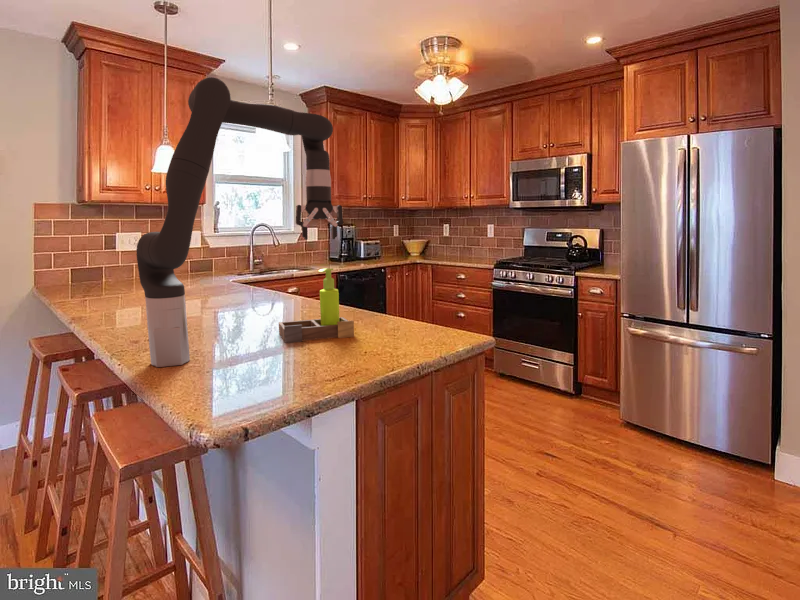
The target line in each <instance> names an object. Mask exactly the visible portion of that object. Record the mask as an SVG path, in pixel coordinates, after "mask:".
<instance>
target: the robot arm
mask: <svg viewBox="0 0 800 600" xmlns="http://www.w3.org/2000/svg"><path fill="white" fill-rule="evenodd" d="M231 98H232V97H231V93H230V90H229V88H228V86H227V85H226V83H225V82H224V81H223V80H222V79H220V78H217V77H214V76H213V77H211V76H209V77H206V78H204V79H201V80H200V81H199V82H197V83H196V85H195V86H194V88H193V89H192V91H191V92H190V94H189V96H188V100H187V102H188V103H187V105H188V108H189V110H190V112H191V113H190V117H189V121H188V123H187V126H186V127H185V129H184V132H183V133H182V135H181V136H180V139H179V141H178V143H177V145H176V147H175V149H174V151H173V154H172V156H171V160H170V162H169V165H168V169H167V172H166V176H165V191H166V197H167V212H166V216H165V218H164V221H163V225H162V227H161V229H160V231H151V232H150V231H149V232H146V233H144V234H143V235H141V237H140V238H139V240H138V241H137V244H136V262H137V269H138V277H139V282H140V285H141V287H142V289H143V292H144V298H145V312H146V322H147V333H148V334H147V335H148V347H149V356H150V357H149V358H150V364H151V365H152V366H154V367H155V368H161V367H162V368H163V367H172V366H182V365H184V364H186V363H188V362H190V360H191V359H190V358H191V357H190V344H189V331H188V318H187V305H186V304H187V303H186V291H185V290H186V289H185V285H184V283H183V282H182V281H180V280H179V279H178V277H177V276H176V274H175V271H174V270H176V269H178V268H180V267H181V266H182V265H184V264H185V262H186V259H187V258H188V255H189V251H190V246H191V240H192V236H193V235H192V234H193V229H194V225H195V224H194V223H195V220H196V215H197V212H198V209H199V205H200V202H201V197H202V195H203V191H204V188H205V186H206V182H207V178H208V175H209V172H210V168H211V164H212V159H213V156H214V153H215V147H216V142H217V137H218V134H219V132H220V130H221V126H222V125H223V124H232V125H241V126H246V127H247V126H248V127H253V128H258V129H263V130H267V131H270V132H275V133H279V134H283V135H287V136H301V139H302V145H303V149H304V152H305V160H306V161H305V165H306V166H305V167H306V171H305V172H306V173H305V193H306V194H305V195H306V196H305V197H306V204H305V205H300V204H297V205H296V206H295V225H297V226H298V227H299V226H300V227H301V237H302V238H304V240H305V241H307V240H309V239H308V227H307V226H308V225H309V224H310V222H311V221H312V220H327V222H329V224H330V225H331V229H330V230H331V231H330V233H331V240H336V238H337V237H338V227H340V226H341V225H344V217H343V216H344V215H343V207H342V205H340V204H339V205H333V204H332V178H331V168H330V165H331V163H330V161H331V160H330V154H329V152H328V151H327V150H325V147H324V146H325V145H324V141H326V140H328V139H329V138H331V136H332V134H333V130H334V126H333V124H332V121H330V120H329V118H327V117H325V116H323V115H320V114H317V113H310V112H301V111H296V110H292V109H290V108H285V107H282V106H279V105H274V104H268V103H266V104H263V103H247V102H240V101H236V100H232V99H231ZM333 210H334V213H336V220H335V218H334V217H333V215H331V213H332V212H333ZM304 211H306V212H307V216H306V217H305V219H304V220H303V221H302V213H303V212H304ZM151 365H150V366H151Z"/></svg>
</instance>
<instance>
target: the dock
mask: <svg viewBox="0 0 800 600" xmlns="http://www.w3.org/2000/svg"><path fill="white" fill-rule="evenodd" d="M278 335H279V336H280V338H281V339H282V341H284V343H285V344H289V343H299V342H303V341H311V340H313V341H315V340H323V339H333V338H335V339H336V338H337V339H345V338H354V337H355V320H348V319H347V318H346V317H343V316H341V317H340V316H339V322H337V325H326V326H321V318H317V319H304V320H303V319H302V320H291V321H279V322H278Z"/></svg>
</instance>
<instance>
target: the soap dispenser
mask: <svg viewBox="0 0 800 600" xmlns="http://www.w3.org/2000/svg"><path fill="white" fill-rule="evenodd" d="M332 271H334V268H327V267H325V268H321V269H319V270H318V272H319V273H325V278H323V282H322V283H323V289H320V290H319V308H320V310H319V311H320V319H321V326H326V325H337V322H339V318H340V300H339V299H340V296H339V295H340V293H339V289H338V288H335V278H333V277H332Z"/></svg>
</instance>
